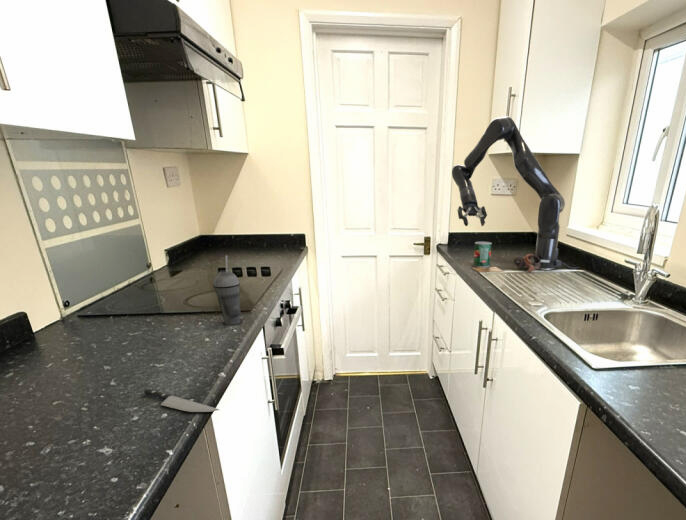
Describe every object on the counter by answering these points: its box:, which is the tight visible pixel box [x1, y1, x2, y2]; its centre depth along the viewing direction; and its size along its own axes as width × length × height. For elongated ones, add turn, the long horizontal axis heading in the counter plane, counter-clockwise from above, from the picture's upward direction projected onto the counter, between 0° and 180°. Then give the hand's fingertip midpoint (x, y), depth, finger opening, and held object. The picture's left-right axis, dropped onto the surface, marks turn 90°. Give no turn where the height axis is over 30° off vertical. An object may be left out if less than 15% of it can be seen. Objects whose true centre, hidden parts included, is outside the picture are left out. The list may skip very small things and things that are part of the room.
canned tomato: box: [473, 241, 493, 268], centre depth 197 cm, size 8×8×11 cm
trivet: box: [472, 266, 504, 273], centre depth 192 cm, size 12×9×1 cm
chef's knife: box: [143, 388, 220, 413], centre depth 79 cm, size 19×1×3 cm
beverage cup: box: [212, 254, 242, 326], centre depth 120 cm, size 7×7×20 cm
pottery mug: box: [513, 253, 541, 273], centre depth 189 cm, size 12×10×8 cm
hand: (475, 225), depth 202 cm, fingers open, 8 cm apart
